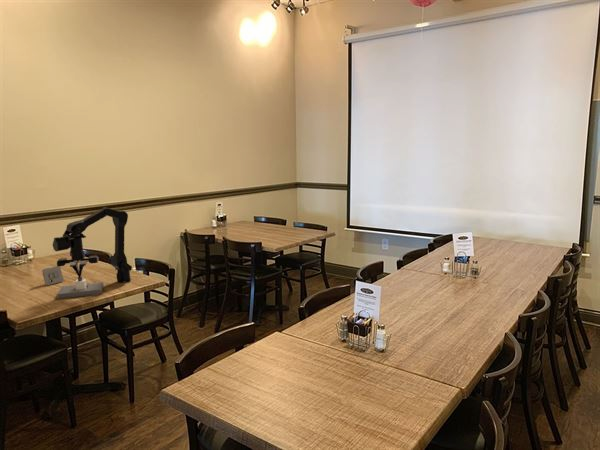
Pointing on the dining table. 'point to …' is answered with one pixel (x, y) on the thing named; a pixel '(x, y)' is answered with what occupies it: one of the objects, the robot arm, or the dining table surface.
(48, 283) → the electrical switch
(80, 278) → the plug
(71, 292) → the socket plate
